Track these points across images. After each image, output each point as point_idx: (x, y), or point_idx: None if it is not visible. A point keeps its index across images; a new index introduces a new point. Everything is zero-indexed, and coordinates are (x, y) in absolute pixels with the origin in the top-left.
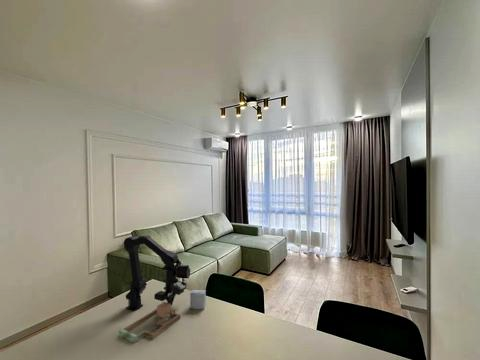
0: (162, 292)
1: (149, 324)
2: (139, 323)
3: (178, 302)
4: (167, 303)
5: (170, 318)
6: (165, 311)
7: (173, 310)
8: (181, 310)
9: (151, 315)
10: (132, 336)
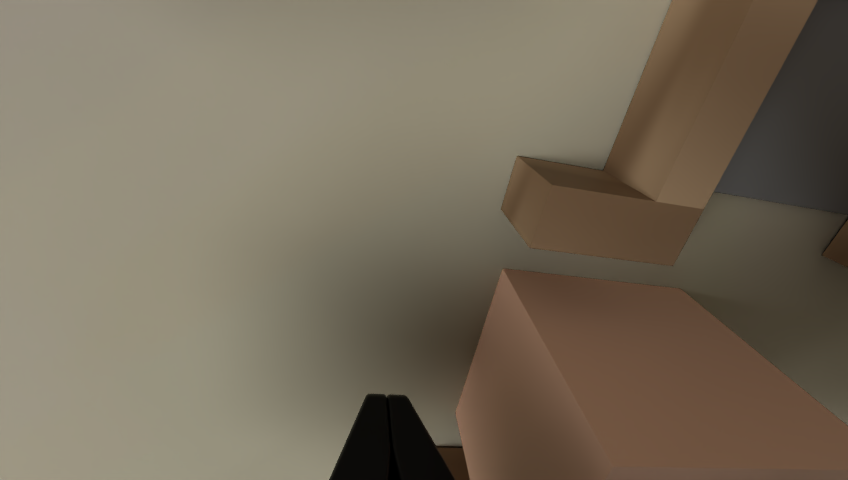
0: None
1: (840, 367)
2: None
3: (27, 364)
4: None
5: (739, 146)
6: (728, 362)
7: (565, 231)
8: (317, 78)
9: None
10: None
